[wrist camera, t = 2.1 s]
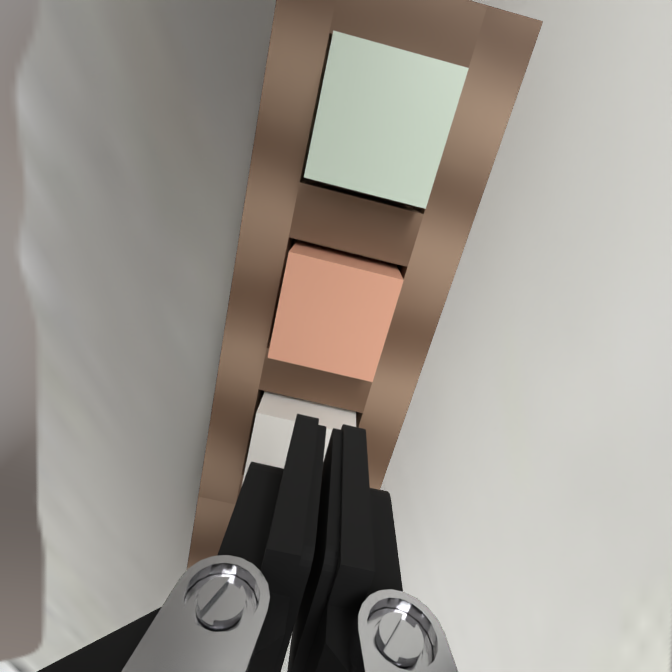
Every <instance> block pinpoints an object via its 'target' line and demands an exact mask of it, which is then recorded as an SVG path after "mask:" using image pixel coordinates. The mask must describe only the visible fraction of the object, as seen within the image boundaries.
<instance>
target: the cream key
mask: <svg viewBox="0 0 672 672" xmlns="http://www.w3.org/2000/svg"><path fill="white" fill-rule="evenodd" d="M297 414H301V415H306V416H310V417H315V418H319V424H318V425H322V426H326V439H325V449H324V458H325V454H326V451H327V447H328V444H329V440H330V436H331V433H332V430H333V428H335V429H340V430H341V428H342V425H343V424H345V425H350V426H354V427H356V411H351V410H347V409H342V408H338V407H334V406H329V405H325V404H321V403H316V402H312V401H307V400H303V399H299V398H294V397H290V396H285V395H281V394H277V393H272V392H268V391H265V392H264V395H263V397H262V400H261V402H260V405H259V407H258V410H257V412H256V417H255V422H254V427H253V432H252V437H251V442H250V447H249V452H248V457H247V462H246V467H245V472H244V477H243V482H244V479H245V476H246V473H247V470H248V468H249V465H250V463H251V461H252V462H256V463H261V464H265V465H270V466H274V467H279V468H283V469H284V466H285V461H286V457H287V453H288V449H289V445H290V441H291V436H292V432H293V428H294V424H295V420H296V416H297ZM323 462H324V459H323ZM243 482H242V484H243Z"/></svg>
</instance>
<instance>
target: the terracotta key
mask: <svg viewBox="0 0 672 672" xmlns="http://www.w3.org/2000/svg"><path fill="white" fill-rule="evenodd" d="M403 281H404V279H403V277H402V275H401V273H400V271H399V269H398V267H397V265H395V264H391V263H387V262H383V261H378V260H374V259H370V258H366V257H362V256H358V255H354V254H350V253H346V252H342V251H338V250H334V249H330V248H326V247H322V246H318V245H314V244H310V243H306V242H302V241H297V242H296V243H295V244H294V246H293V247H292V248H291V250H290V251H289V253H288V258H287V263H286V268H285V273H284V278H283V283H282V288H281V293H280V298H279V303H278V308H277V313H276V318H275V323H274V328H273V333H272V338H271V343H270V348H269V353H268V358H271V359H275V360H280V361H284V362H288V363H292V364H297V365H301V366H305V367H310V368H314V369H318V370H323V371H327V372H331V373H335V374H340V375H344V376H348V377H353V378H357V379H361V380H365V381H370V382H373V379H374V376H375V373H376V369H377V366H378V363H379V360H380V356H381V353H382V350H383V347H384V343H385V340H386V337H387V333H388V330H389V327H390V324H391V320H392V317H393V314H394V311H395V307H396V304H397V301H398V298H399V294H400V291H401V288H402V284H403Z"/></svg>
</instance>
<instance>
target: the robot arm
mask: <svg viewBox="0 0 672 672" xmlns="http://www.w3.org/2000/svg"><path fill="white" fill-rule="evenodd" d="M318 424H319V418H315V417H310V416H306V415H301V414H297V416H296V420H295V424H294V428H293V432H292V436H291V441H290V445H289V449H288V453H287V457H286V461H285V466H284V469H283V468H279V467H274V466H270V465H265V464H261V463H256V462H252V461H251V463H250V465H249V468H248V470H247V473H246V476H245V479H244V482H243V484H242V487H241V490H240V493H239V496H238V499H237V501H236V504H235V507H234V510H233V513H232V515H231V518H230V521H229V524H228V527H227V529H226V532H225V535H224V538H223V541H222V543H221V546H220V549H219V552H218V555H217V556H212V557H209V558H206V559H203V560H200V561H199V562H197V563H196V564H194V565H193V566H191V567H190V568H188V569H187V571H186V572H185V573H184V574H183V575H182V576H181V578H180V579H179V580H178V582H177V583H176V585H175V587H174V588H173V590H172V591H171V593H170V595H169V596H168V598H167V599H166V601H165V603H164V604H163V606H162V607H160V608H159V609H157V610H155V611H153V612H151V613H149V614H147V615H145V616H143V617H141V618H139V619H137V620H135V621H134V622H132V623H130V624H128V625H126V626H124V627H122V628H120V629H118V630H116V631H114V632H112V633H110V634H108V635H107V636H105V637H103V638H101V639H99V640H97V641H95V642H93V643H91V644H89V645H87V646H85V647H83V648H82V649H80V650H78V651H76V652H74V653H72V654H70V655H68V656H66V657H64V658H62V659H60V660H58V661H56V662H55V663H53V664H51V665H49V666H47V667H45V668H43V669H41V670H39V671H37V672H281V668H282V665H283V662H284V658H285V655H286V651H287V648H288V645H289V641H290V638H291V635H292V639H291V647H290V655H289V663H288V671H287V672H458V670H457V667H456V664H455V661H454V658H453V655H452V653H451V650H450V647H449V644H448V641H447V638H446V635H445V633H444V631H443V629H442V627H441V625H440V622H439V620H438V619H437V618H436V616H435V615H434V614H433V613H432V611H431V610H430V609H429V608H428V607H427V606H426V605H425V604H423V603H422V602H421V601H420V600H418V599H417V598H415V597H413V596H411V595H409V594H407V593H405V592H403V589H402V581H401V574H400V566H399V558H398V550H397V543H396V535H395V527H394V520H393V512H392V504H391V498H390V494H389V492H387V491H383V490H378V489H374V488H370V484H369V469H368V453H367V438H366V429H363V428H358V427H354V426H350V425H345V424H343V425H342V428H341V430H340V429H335V428H333V430H332V433H331V436H330V440H329V444H328V447H327V451H326V454H325V458H324V449H325V439H326V426H322V425H318ZM323 459H324V462H323ZM292 631H293V632H292Z"/></svg>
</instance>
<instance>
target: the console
mask: <svg viewBox="0 0 672 672" xmlns="http://www.w3.org/2000/svg"><path fill="white" fill-rule="evenodd" d="M542 23H543V21H540V20H536V19H533V18H529V17H526V16H522V15H519V14H515V13H512V12H508V11H505V10H501V9H498V8H494V7H491V6H487V5H484V4H480V3H477V2H473V1H470V0H276V5H275V12H274V18H273V24H272V31H271V37H270V43H269V50H268V56H267V63H266V69H265V75H264V82H263V88H262V94H261V101H260V107H259V113H258V120H257V126H256V132H255V139H254V145H253V152H252V158H251V164H250V171H249V177H248V183H247V190H246V196H245V202H244V209H243V215H242V221H241V228H240V234H239V240H238V247H237V253H236V260H235V266H234V272H233V279H232V285H231V291H230V298H229V304H228V310H227V317H226V323H225V329H224V336H223V342H222V349H221V355H220V361H219V368H218V374H217V380H216V387H215V393H214V399H213V406H212V412H211V418H210V425H209V431H208V437H207V444H206V450H205V457H204V463H203V469H202V476H201V482H200V488H199V495H198V501H197V507H196V514H195V520H194V526H193V533H192V539H191V546H190V552H189V558H188V565H187V569H188V568H190V567H191V566H193V565H194V564H196V563H197V562H199V561H200V560H203V559H206V558H209V557H212V556H217V555H218V552H219V549H220V546H221V543H222V541H223V538H224V535H225V532H226V529H227V527H228V524H229V521H230V518H231V515H232V513H233V510H234V507H235V504H236V501H237V499H238V496H239V493H240V490H241V487H242V482H243V477H244V472H245V467H246V462H247V457H248V452H249V447H250V442H251V437H252V432H253V427H254V422H255V417H256V412H257V410H258V407H259V405H260V402H261V400H262V397H263V395H264V392H265V391H268V392H272V393H277V394H281V395H285V396H290V397H294V398H299V399H303V400H307V401H312V402H316V403H321V404H325V405H329V406H334V407H338V408H342V409H347V410H351V411H356V427H358V428H363V429H366V438H367V453H368V469H369V484H370V488H374V489H378V490H380V487H381V485H382V482H383V479H384V476H385V473H386V470H387V467H388V465H389V462H390V459H391V456H392V453H393V450H394V447H395V444H396V442H397V439H398V436H399V433H400V430H401V427H402V424H403V422H404V419H405V416H406V413H407V410H408V407H409V404H410V401H411V399H412V396H413V393H414V390H415V387H416V384H417V381H418V378H419V376H420V373H421V370H422V367H423V364H424V361H425V358H426V356H427V353H428V350H429V347H430V344H431V341H432V338H433V335H434V333H435V330H436V327H437V324H438V321H439V318H440V315H441V313H442V310H443V307H444V304H445V301H446V298H447V295H448V292H449V290H450V287H451V284H452V281H453V278H454V275H455V272H456V269H457V267H458V264H459V261H460V258H461V255H462V252H463V249H464V247H465V244H466V241H467V238H468V235H469V232H470V229H471V226H472V224H473V221H474V218H475V215H476V212H477V209H478V206H479V204H480V201H481V198H482V195H483V192H484V189H485V186H486V183H487V181H488V178H489V175H490V172H491V169H492V166H493V163H494V160H495V158H496V155H497V152H498V149H499V146H500V143H501V140H502V138H503V135H504V132H505V129H506V126H507V123H508V120H509V117H510V115H511V112H512V109H513V106H514V103H515V100H516V97H517V95H518V92H519V89H520V86H521V83H522V80H523V77H524V74H525V72H526V69H527V66H528V63H529V60H530V57H531V54H532V51H533V49H534V46H535V43H536V40H537V37H538V34H539V31H540V29H541V26H542ZM333 30H334V31H337V32H341V33H344V34H348V35H351V36H355V37H359V38H362V39H366V40H369V41H373V42H377V43H380V44H384V45H387V46H391V47H395V48H398V49H402V50H405V51H409V52H413V53H416V54H420V55H423V56H427V57H431V58H434V59H438V60H441V61H445V62H449V63H452V64H456V65H459V66H463V67H467V68H469V69H468V72H467V75H466V79H465V82H464V85H463V89H462V92H461V95H460V98H459V102H458V105H457V108H456V111H455V115H454V118H453V121H452V124H451V128H450V131H449V134H448V138H447V141H446V144H445V147H444V151H443V154H442V157H441V160H440V164H439V167H438V170H437V173H436V177H435V180H434V183H433V186H432V190H431V193H430V196H429V200H428V203H427V206H426V209H424V208H421V207H417V206H413V205H409V204H405V203H401V202H397V201H393V200H389V199H386V198H382V197H378V196H374V195H370V194H366V193H362V192H358V191H355V190H351V189H347V188H343V187H339V186H335V185H331V184H327V183H324V182H320V181H316V180H312V179H308V178H304V174H305V169H306V164H307V159H308V154H309V149H310V144H311V139H312V134H313V129H314V124H315V119H316V114H317V109H318V104H319V99H320V94H321V90H322V85H323V80H324V75H325V70H326V65H327V60H328V55H329V50H330V45H331V40H332V35H333ZM297 241H302V242H306V243H310V244H314V245H318V246H322V247H326V248H330V249H334V250H338V251H342V252H346V253H350V254H354V255H358V256H362V257H366V258H370V259H374V260H378V261H383V262H387V263H391V264H395V265H397V267H398V269H399V271H400V273H401V275H402V277H403V279H404V281H403V284H402V288H401V291H400V294H399V298H398V301H397V304H396V307H395V311H394V314H393V317H392V320H391V324H390V327H389V330H388V333H387V337H386V340H385V343H384V347H383V350H382V353H381V356H380V360H379V363H378V366H377V369H376V373H375V376H374V379H373V382H370V381H365V380H361V379H357V378H353V377H348V376H344V375H340V374H335V373H331V372H327V371H323V370H318V369H314V368H310V367H305V366H301V365H297V364H292V363H288V362H284V361H280V360H275V359H271V358H268V353H269V348H270V343H271V338H272V333H273V328H274V323H275V318H276V313H277V308H278V303H279V298H280V293H281V288H282V283H283V278H284V273H285V268H286V263H287V258H288V253H289V251H290V250H291V248H292V247H293V246H294V244H295V243H296V242H297Z"/></svg>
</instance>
